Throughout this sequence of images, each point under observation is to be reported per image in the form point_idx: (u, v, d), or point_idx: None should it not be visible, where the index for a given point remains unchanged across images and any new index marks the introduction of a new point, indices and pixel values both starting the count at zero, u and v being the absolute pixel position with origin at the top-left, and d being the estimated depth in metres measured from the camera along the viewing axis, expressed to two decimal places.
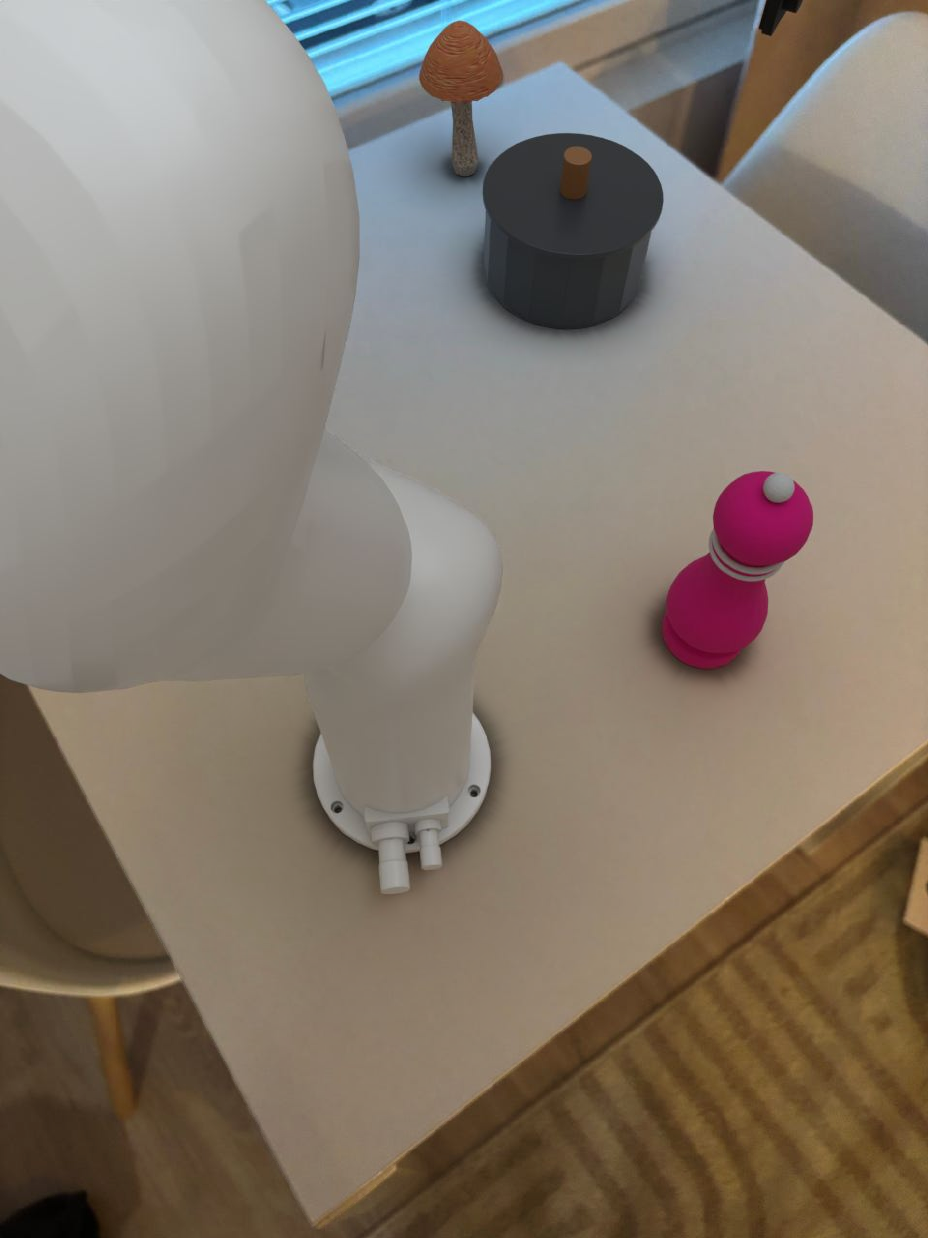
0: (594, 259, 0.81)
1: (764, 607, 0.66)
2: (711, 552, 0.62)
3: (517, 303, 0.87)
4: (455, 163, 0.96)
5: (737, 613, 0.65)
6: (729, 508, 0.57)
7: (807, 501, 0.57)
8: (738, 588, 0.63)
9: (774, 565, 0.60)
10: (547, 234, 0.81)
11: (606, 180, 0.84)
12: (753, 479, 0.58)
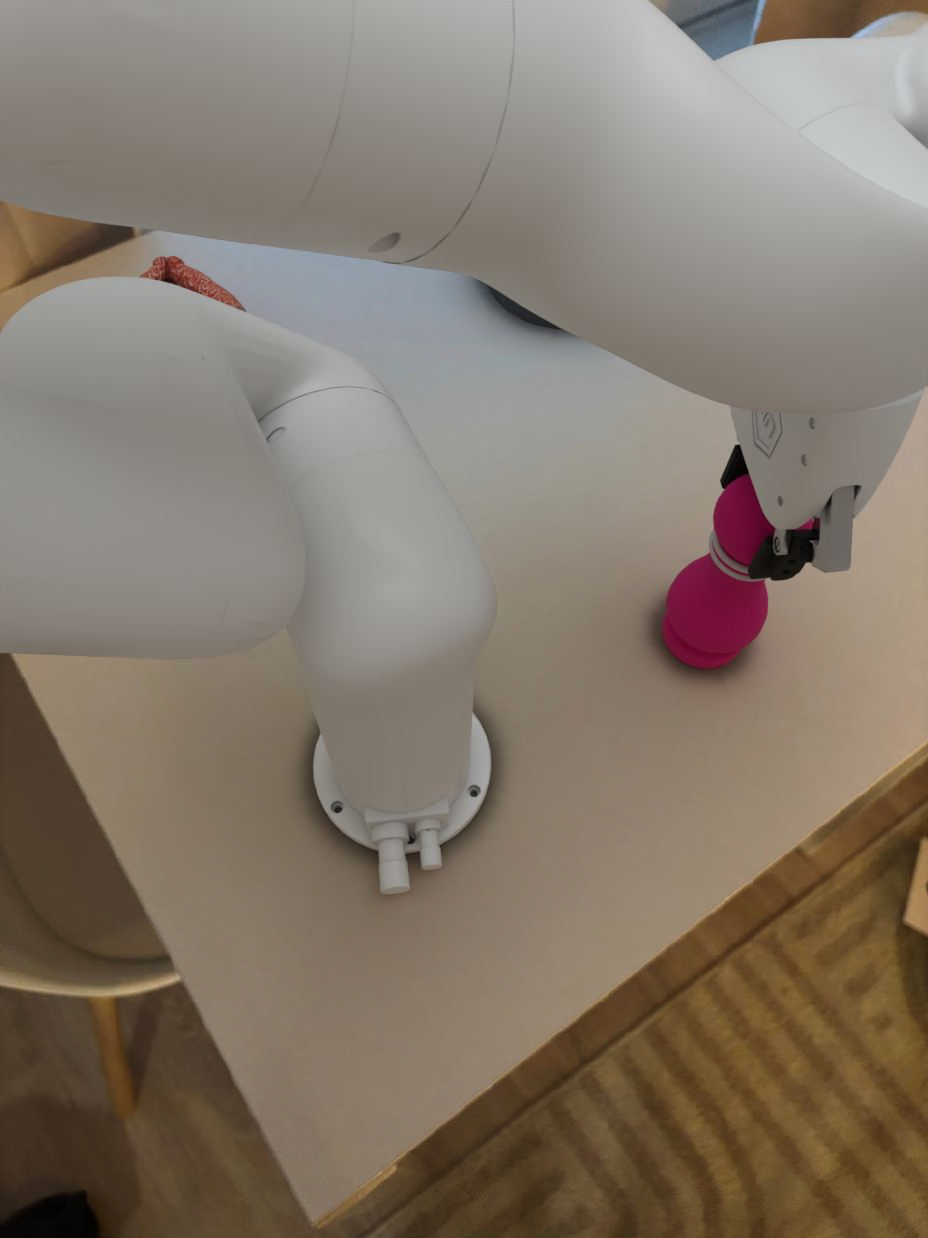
0: None
1: (764, 607, 0.66)
2: (711, 552, 0.62)
3: (517, 303, 0.87)
4: None
5: (737, 613, 0.65)
6: (729, 508, 0.57)
7: None
8: (738, 588, 0.63)
9: None
10: None
11: None
12: None
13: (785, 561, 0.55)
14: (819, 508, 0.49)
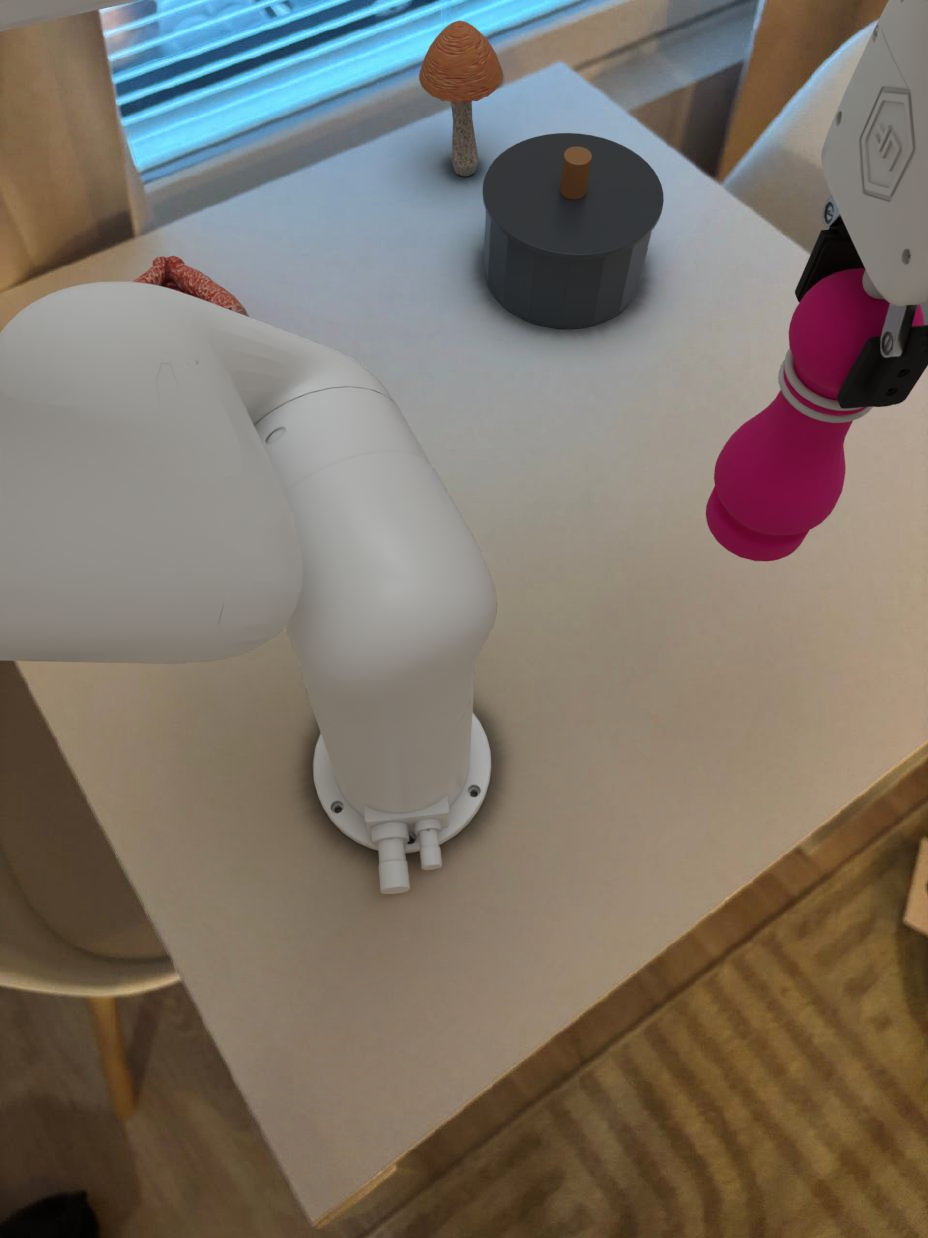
0: (594, 259, 0.81)
1: (842, 473, 0.52)
2: (782, 387, 0.48)
3: (517, 303, 0.87)
4: (455, 163, 0.96)
5: (810, 475, 0.51)
6: (814, 312, 0.43)
7: None
8: (815, 437, 0.49)
9: None
10: (547, 234, 0.81)
11: (606, 180, 0.84)
12: (846, 274, 0.44)
13: (894, 371, 0.41)
14: None
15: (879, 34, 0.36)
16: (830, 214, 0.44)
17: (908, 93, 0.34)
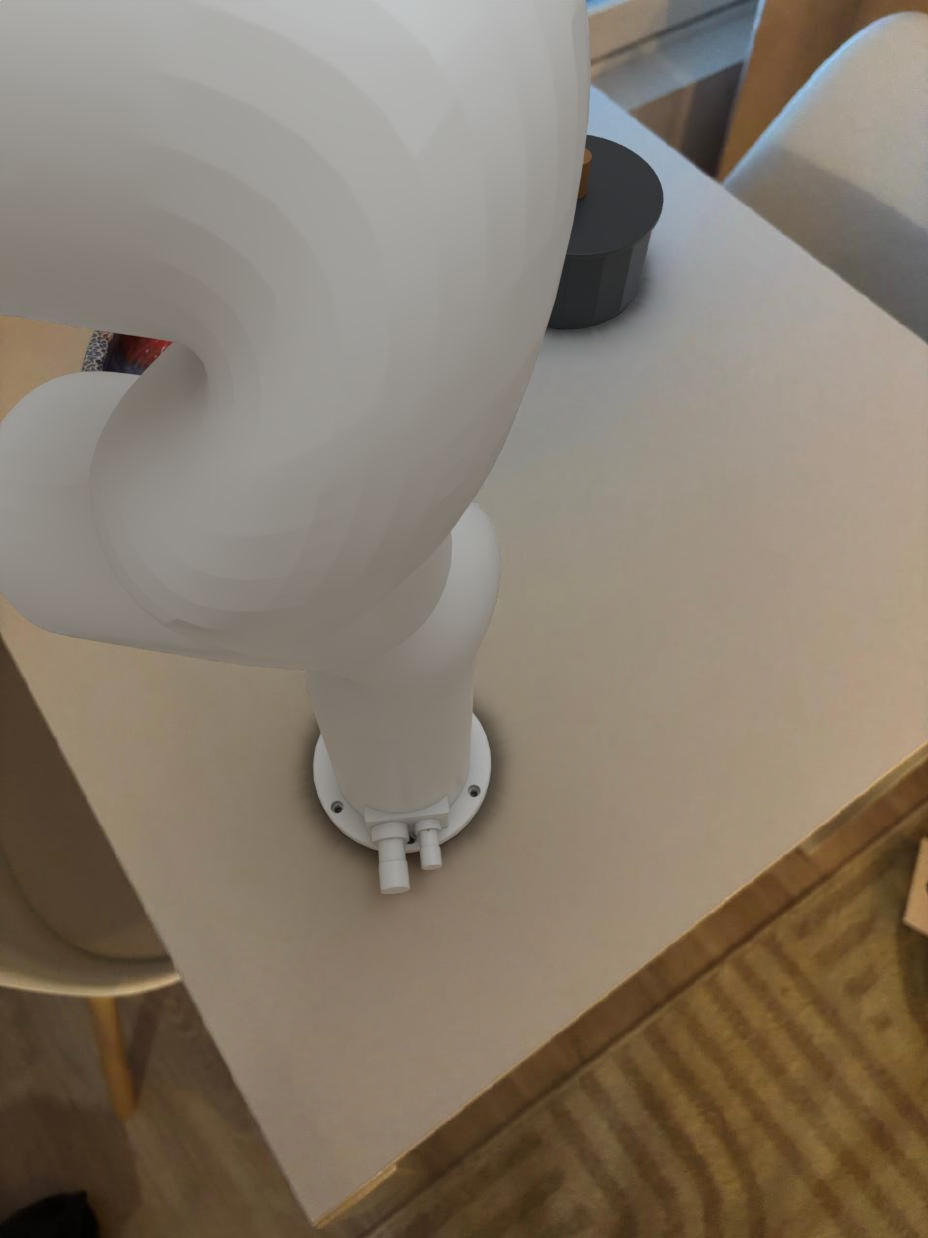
0: (594, 259, 0.81)
1: None
2: None
3: None
4: None
5: None
6: None
7: None
8: None
9: None
10: None
11: (606, 180, 0.84)
12: None
13: None
14: None
15: None
16: None
17: None
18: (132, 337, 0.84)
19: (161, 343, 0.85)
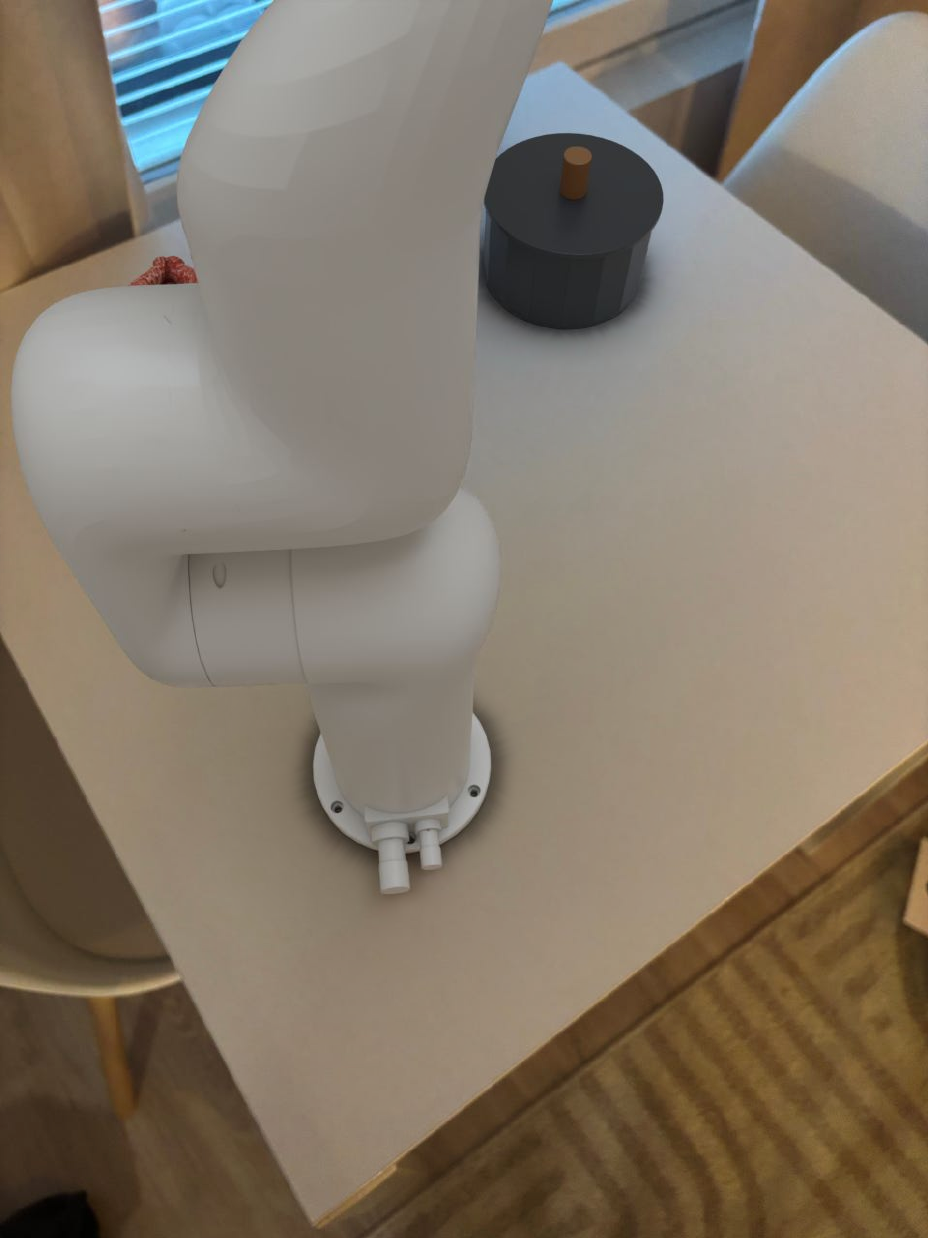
0: (594, 259, 0.81)
1: None
2: None
3: (517, 303, 0.87)
4: None
5: None
6: None
7: None
8: None
9: None
10: (547, 234, 0.81)
11: (606, 180, 0.84)
12: None
13: None
14: None
15: None
16: None
17: None
18: None
19: None
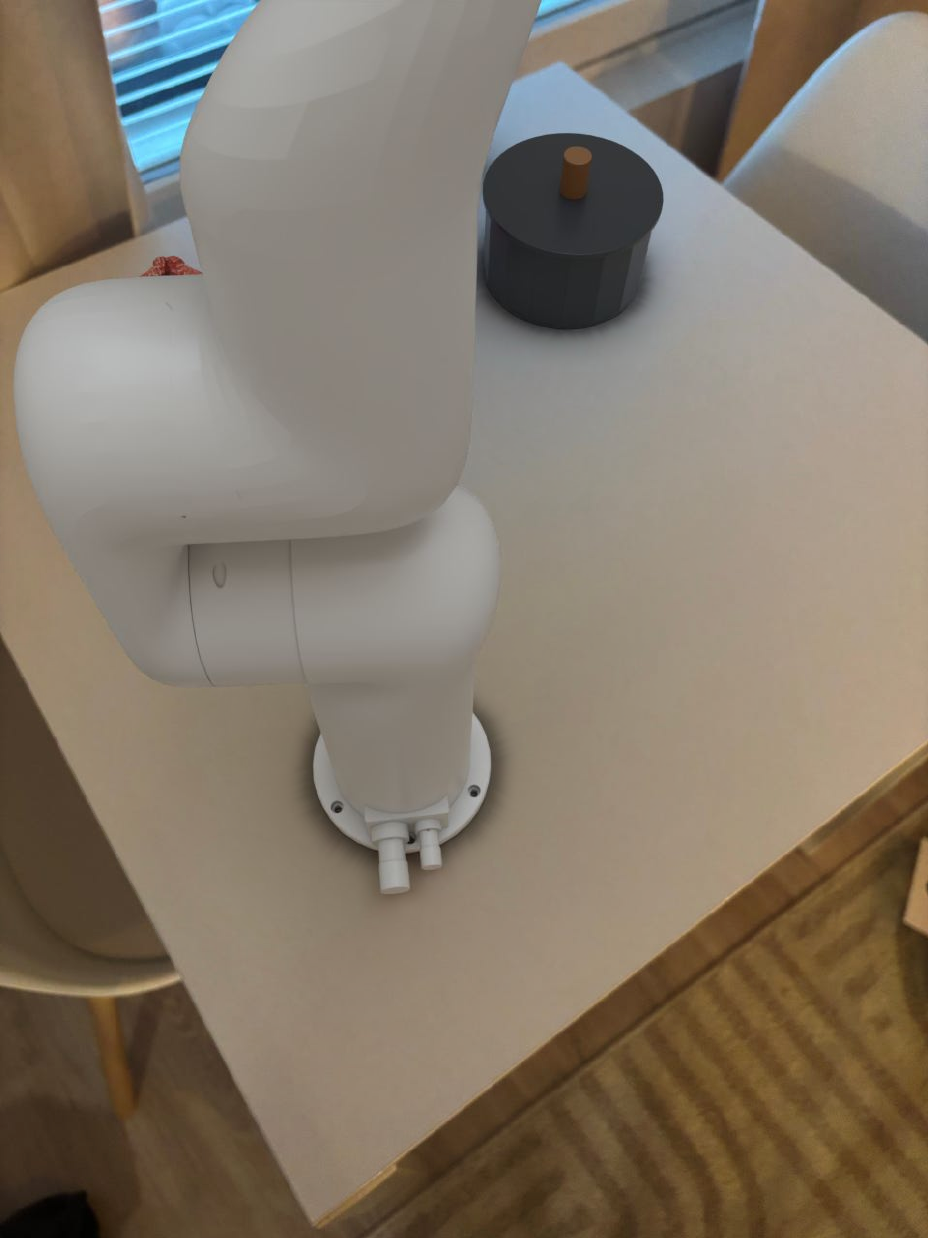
0: (594, 259, 0.81)
1: None
2: None
3: (517, 303, 0.87)
4: None
5: None
6: None
7: None
8: None
9: None
10: (547, 234, 0.81)
11: (606, 180, 0.84)
12: None
13: None
14: None
15: None
16: None
17: None
18: None
19: None
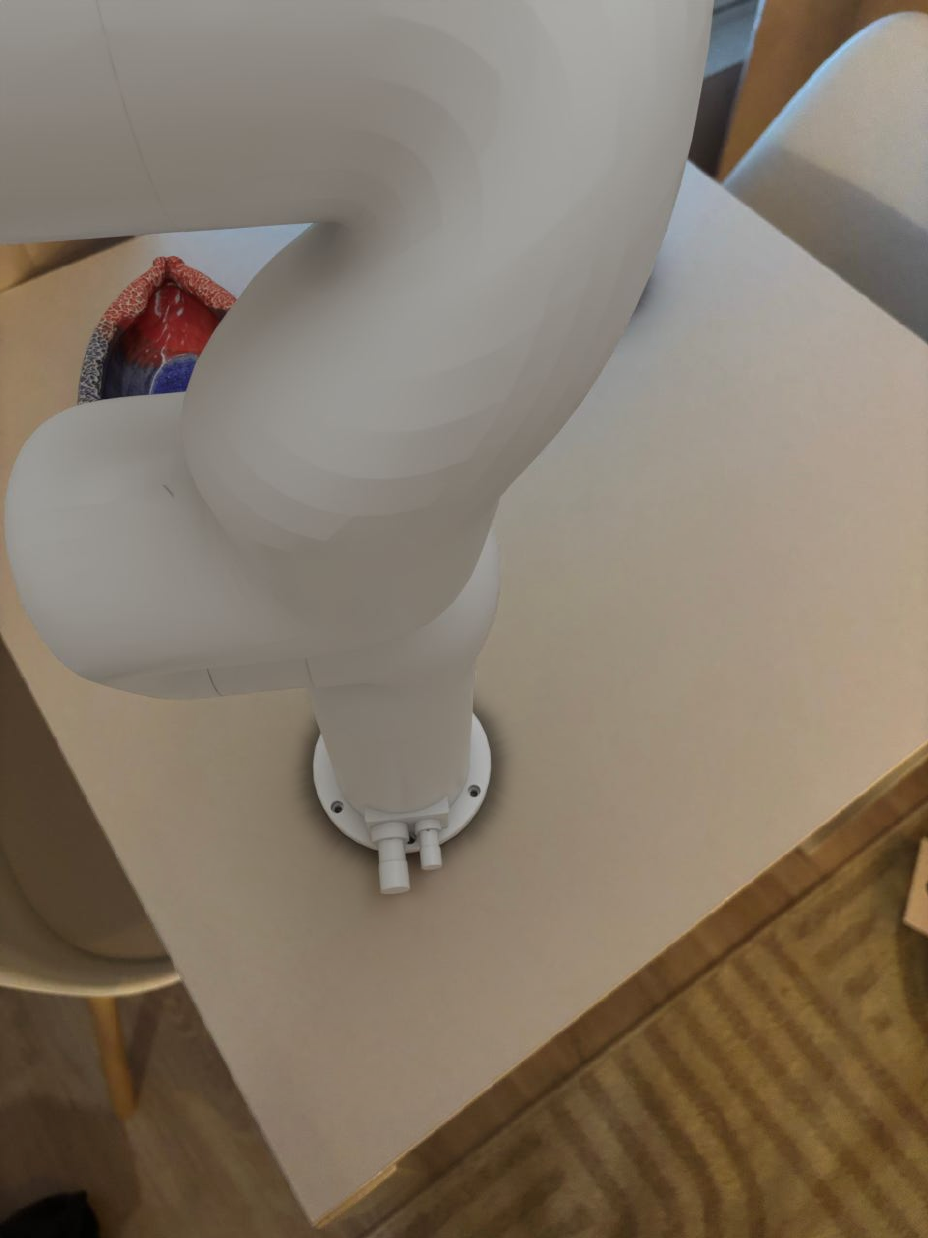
0: None
1: None
2: None
3: None
4: None
5: None
6: None
7: None
8: None
9: None
10: None
11: None
12: None
13: None
14: None
15: None
16: None
17: None
18: (132, 337, 0.84)
19: (161, 343, 0.85)
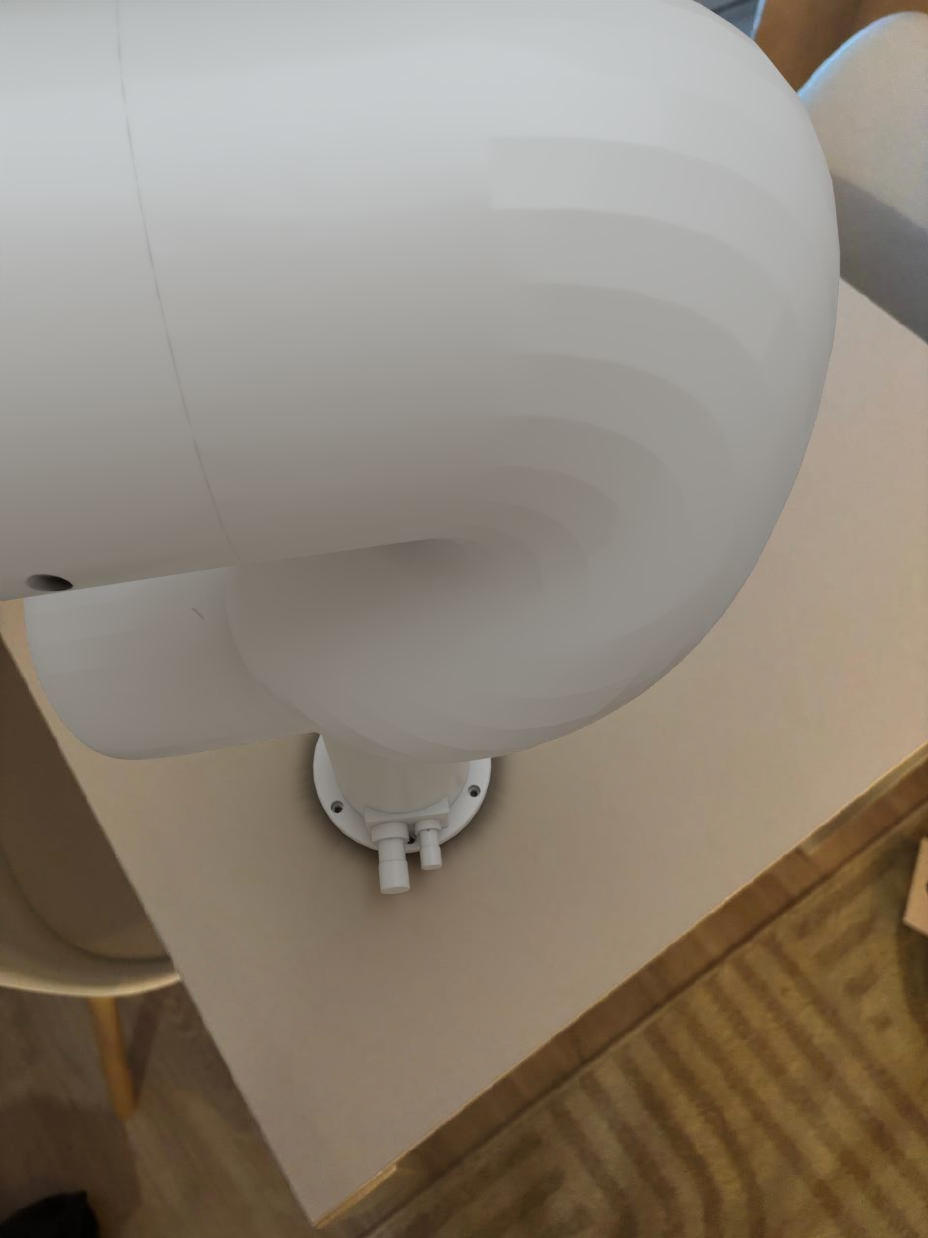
0: None
1: None
2: None
3: None
4: None
5: None
6: None
7: None
8: None
9: None
10: None
11: None
12: None
13: None
14: None
15: None
16: None
17: None
18: None
19: None
